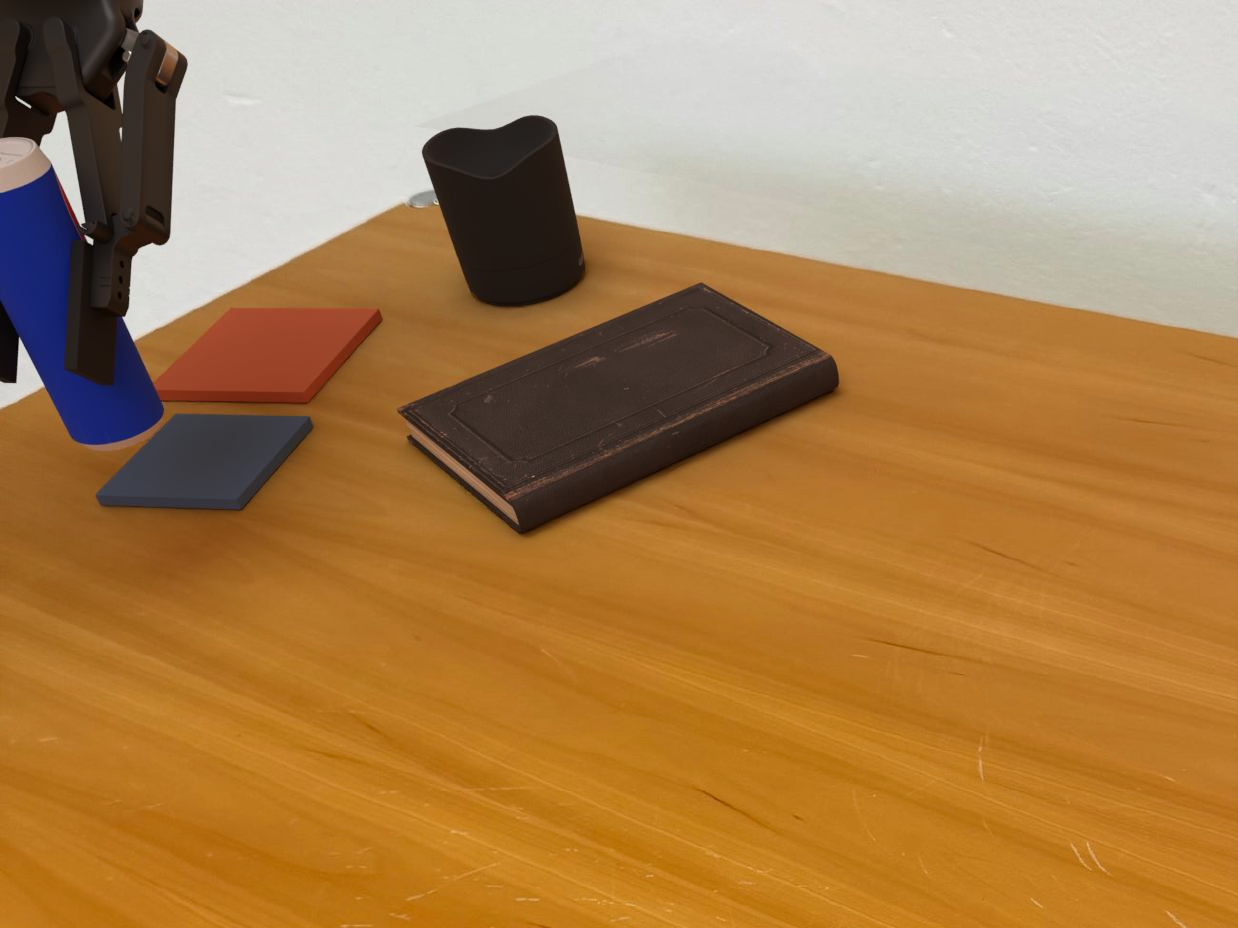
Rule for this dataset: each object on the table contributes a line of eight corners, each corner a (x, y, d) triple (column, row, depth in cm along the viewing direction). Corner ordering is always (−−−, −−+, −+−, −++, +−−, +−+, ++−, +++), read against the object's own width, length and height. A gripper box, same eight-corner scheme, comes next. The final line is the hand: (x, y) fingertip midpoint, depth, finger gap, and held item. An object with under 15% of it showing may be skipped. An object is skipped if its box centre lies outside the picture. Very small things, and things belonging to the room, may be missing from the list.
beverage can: (188, 419, 91) (63, 142, 80) (113, 463, 88) (-26, 183, 78) (130, 400, 93) (0, 129, 83) (55, 443, 91) (-88, 168, 80)
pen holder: (536, 319, 114) (496, 174, 107) (438, 299, 118) (393, 157, 111) (617, 262, 120) (584, 121, 113) (521, 245, 124) (483, 107, 116)
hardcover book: (408, 440, 104) (396, 407, 102) (707, 313, 112) (701, 281, 111) (523, 538, 95) (512, 503, 93) (841, 391, 103) (836, 357, 101)
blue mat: (99, 505, 102) (93, 494, 101) (180, 423, 109) (175, 413, 108) (241, 510, 100) (236, 499, 99) (314, 426, 106) (309, 415, 106)
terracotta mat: (150, 400, 111) (145, 389, 111) (235, 318, 119) (230, 307, 119) (307, 403, 109) (303, 392, 108) (382, 318, 117) (379, 308, 116)
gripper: (267, -43, 86) (239, 401, 86) (-29, -33, 89) (-53, 394, 90) (174, -131, 78) (145, 356, 79) (-145, -116, 82) (-170, 350, 83)
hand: (39, 375), depth 85 cm, fingers closed on beverage can, 5 cm apart
